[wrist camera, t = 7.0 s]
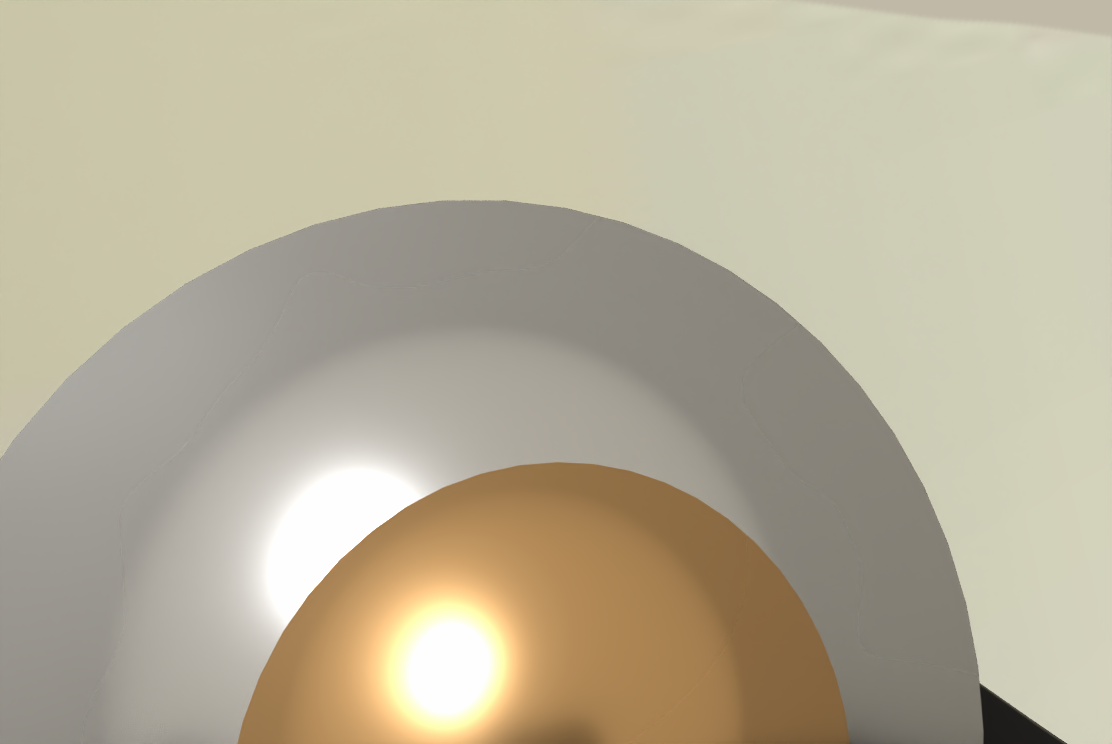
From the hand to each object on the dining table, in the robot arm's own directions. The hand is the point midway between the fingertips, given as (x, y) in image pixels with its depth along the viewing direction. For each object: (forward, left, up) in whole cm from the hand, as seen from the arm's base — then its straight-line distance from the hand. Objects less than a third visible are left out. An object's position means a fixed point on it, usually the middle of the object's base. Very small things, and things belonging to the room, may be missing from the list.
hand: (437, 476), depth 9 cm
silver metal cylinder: (0, +1, -7) cm, 7 cm away
